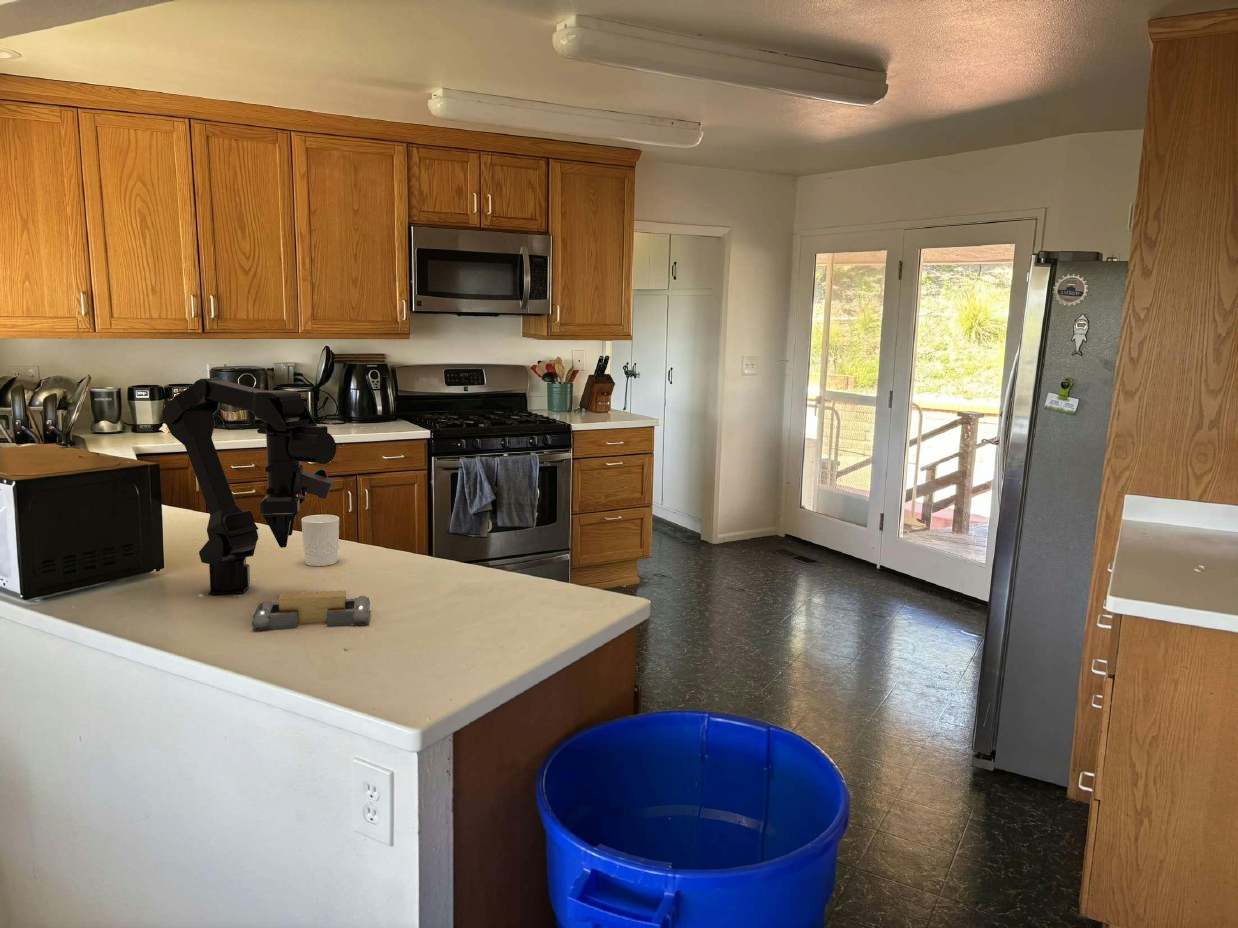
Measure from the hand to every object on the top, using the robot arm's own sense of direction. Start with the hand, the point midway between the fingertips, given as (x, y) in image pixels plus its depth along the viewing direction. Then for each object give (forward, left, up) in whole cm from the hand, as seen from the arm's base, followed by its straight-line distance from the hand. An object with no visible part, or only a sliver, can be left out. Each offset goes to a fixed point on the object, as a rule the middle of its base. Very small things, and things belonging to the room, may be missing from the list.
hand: (286, 541), depth 162 cm
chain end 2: (+11, -11, -12) cm, 20 cm away
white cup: (+4, +28, -12) cm, 31 cm away
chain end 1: (-1, -11, -12) cm, 16 cm away
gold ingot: (+5, -11, -12) cm, 17 cm away
